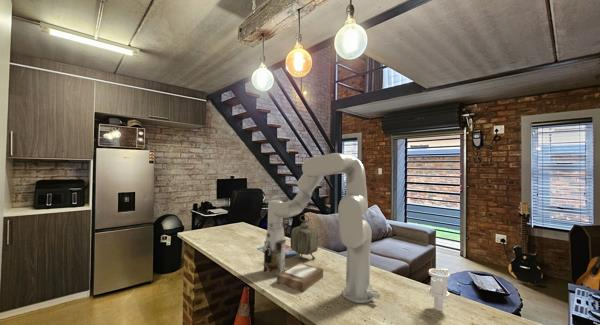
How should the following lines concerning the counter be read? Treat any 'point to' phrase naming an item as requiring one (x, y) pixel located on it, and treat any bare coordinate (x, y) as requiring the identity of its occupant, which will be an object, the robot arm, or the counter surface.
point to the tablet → (288, 251)
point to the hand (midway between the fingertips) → (274, 259)
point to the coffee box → (276, 260)
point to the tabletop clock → (304, 239)
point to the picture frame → (300, 276)
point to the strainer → (439, 287)
